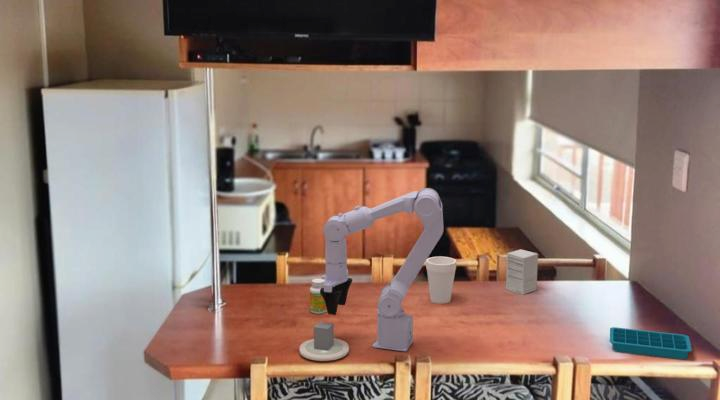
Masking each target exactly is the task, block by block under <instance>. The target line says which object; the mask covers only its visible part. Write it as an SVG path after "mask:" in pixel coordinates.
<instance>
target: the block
mask: <svg viewBox="0 0 720 400" xmlns="http://www.w3.org/2000/svg"><path fill="white" fill-rule="evenodd" d="M334 324H335V323H332V322H325V321H324V322H323V321H319V322H318V323H316V324H315V325H314V326H313V339H314V349H321V350H329V349H330V348H331V347H332V346H333V345H334V338H335V337H334V336H335V331H334V328H335V325H334Z"/></svg>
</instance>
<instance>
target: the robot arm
mask: <svg viewBox="0 0 720 400" xmlns="http://www.w3.org/2000/svg"><path fill="white" fill-rule="evenodd" d="M443 211H444V210H443V203H442V200H441V198H440V196H439V193H438V192H437V191H436V190H435V189H433V188H431V187H426V188H422V189H420V190H419V191H418V190H414V191H411V192H409V193H406V194H402V195H401V196H399V197H396V198H393V199H391V200H389V201H386V202H383V203H381V204H378V205H377V206H374V207H372V208H369V207H368V206H361V205H357V206H355V207H354V209H353V210H351V211H350V210H349V211H347V212H345V213H343V212H339V213H338V214H337V215H333V216H331V217H329V219H328V220H327V221H326V223H325V224H324V226H323V230H322V231H323V235H324V237H325V238H324V239H325V245H324V248H325V249H324V252H325V254H324V255H325V274H323V275H321V279H324V280H325V284H324V288H321V289H320V294H321V295H322V297H323V299H324V301H325V304H326V308H327V312H326V313H327V314H328V315H333V316H335V315H337V313H338V307H339V306H345V305H346V304H347V298H348V293H349V289H350V287H351V285H352V283H353V278H350V277H349V269H348V263H347V262H348V258H347V257H348V253H347V250H348V249H347V235H353V234H356V233H358V232H360V231H363V230H366V229H369V228H372V227H373V225H374V222H375V221H377V220H379V219H383V218H386V217H389V216H392V215H395V214H398V213H402V212H404V213H407V214H408V215H411V216H412V215H414V213H415V214H416V215H417V217H418V219H420V221H421V224H422V226H423V231H421V234H420V235H419V238H418V239H417V240H416V242H415V244H414V245H413V247H412V249H411V250H410V251H409V253H408V255H407V256H406V259H405V260H404V262H403V263H402V265H401V266H400V268H399V270H398V271H397V272H396V275H395V276H394V277H393V278H392V279H391V281H390V283H388V284H387V285H385V286H384V287H383V288H382V289H381V290H380V296H379V299H378V301H377V306H376V307H377V312H376V313H377V315H376V317H377V318H376V319H377V323H376V326H377V329H376V330H377V331H376V335H377V336H376V338H377V339H376V341H375V342H374V343H373V344H372V348H377V349H385V350H392V351H400V352H407V351H408V349H409V348H410V346H411V345H412V344H413V343H414V318H413V315H412V314H411V315H410V314H408V313H406V312H405V309H403V306H402V303H403V301H404V299H405V297H406V295H407V293H408V291H409V288H410V287H411V286H412V283H413V282H414V281H415V279H416V277H417V276H418V274H419V272H421V269H422V267H423V266H424V265H425V264H426V260H427V259H428V258H430V255H431V253H432V251H433V250H434V248H435V246H437V243H438V242H439V241H440V239H441V238H442V236H443V234H444V215H443V214H444V212H443Z"/></svg>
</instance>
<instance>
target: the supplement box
mask: <svg viewBox="0 0 720 400" xmlns="http://www.w3.org/2000/svg"><path fill="white" fill-rule="evenodd" d="M538 260H539V253H537V252H532V251H528V250H526V249H525V250H524V249H521V248H520V249H517V250H514V251H511V252H507V254H506V270H505V271H506V277H505V280H506V281H505V290H507V291H509V292H513V293H516V294H519V295H523V296H524V295H526V294H530V293H531V292H535V291H537V287H538V286H537V285H538V262H539V261H538Z"/></svg>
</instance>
